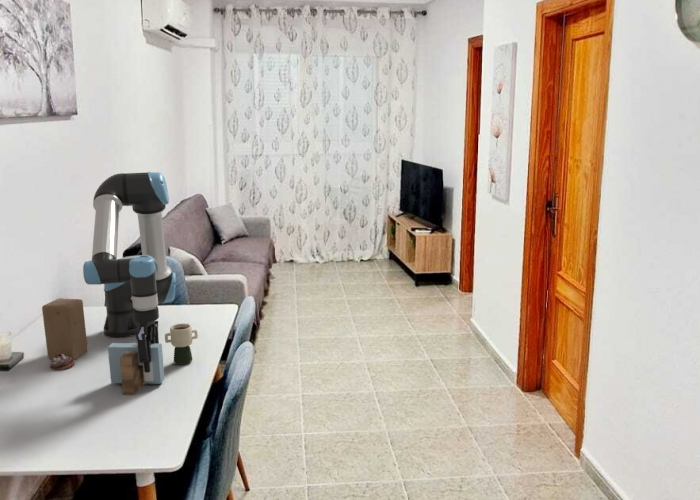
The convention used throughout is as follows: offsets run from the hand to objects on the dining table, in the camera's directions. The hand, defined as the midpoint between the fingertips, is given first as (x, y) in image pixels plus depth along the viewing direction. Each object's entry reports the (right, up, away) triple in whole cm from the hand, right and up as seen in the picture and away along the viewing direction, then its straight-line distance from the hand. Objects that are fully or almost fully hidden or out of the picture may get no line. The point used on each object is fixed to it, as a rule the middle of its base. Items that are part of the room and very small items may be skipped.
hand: (151, 377), depth 214 cm
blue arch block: (-4, -1, +1) cm, 5 cm away
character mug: (+6, +2, +18) cm, 19 cm away
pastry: (-35, 0, +16) cm, 39 cm away
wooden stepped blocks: (-4, -2, +1) cm, 5 cm away
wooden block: (-37, +3, +25) cm, 45 cm away
